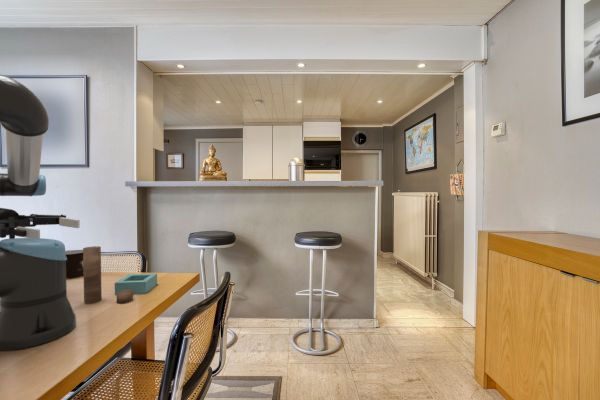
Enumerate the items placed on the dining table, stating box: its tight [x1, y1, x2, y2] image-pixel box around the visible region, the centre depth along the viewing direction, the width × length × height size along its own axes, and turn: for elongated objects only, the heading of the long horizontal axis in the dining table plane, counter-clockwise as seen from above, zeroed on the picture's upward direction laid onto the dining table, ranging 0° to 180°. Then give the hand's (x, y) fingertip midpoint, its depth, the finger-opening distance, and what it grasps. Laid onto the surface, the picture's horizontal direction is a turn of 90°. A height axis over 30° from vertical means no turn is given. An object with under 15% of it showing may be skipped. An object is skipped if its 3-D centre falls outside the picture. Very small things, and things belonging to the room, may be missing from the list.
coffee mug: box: [65, 249, 84, 279], centre depth 115 cm, size 12×9×10 cm
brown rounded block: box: [116, 289, 134, 304], centre depth 90 cm, size 4×4×3 cm
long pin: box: [82, 245, 103, 305], centre depth 90 cm, size 4×4×17 cm
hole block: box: [114, 273, 158, 296], centre depth 101 cm, size 10×10×4 cm
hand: (60, 228), depth 88 cm, fingers open, 13 cm apart
